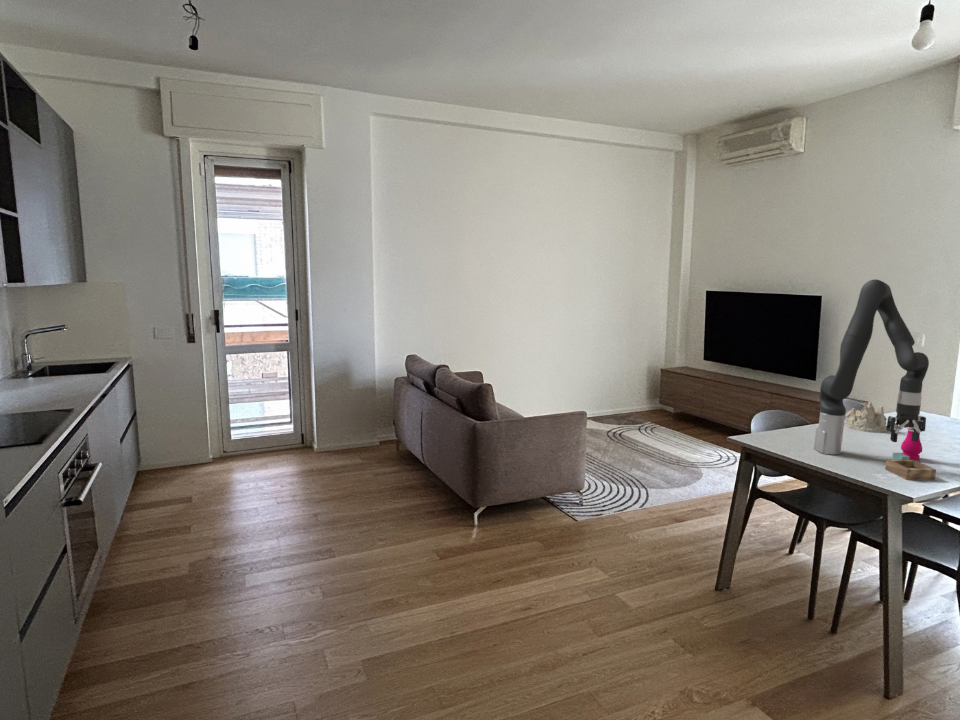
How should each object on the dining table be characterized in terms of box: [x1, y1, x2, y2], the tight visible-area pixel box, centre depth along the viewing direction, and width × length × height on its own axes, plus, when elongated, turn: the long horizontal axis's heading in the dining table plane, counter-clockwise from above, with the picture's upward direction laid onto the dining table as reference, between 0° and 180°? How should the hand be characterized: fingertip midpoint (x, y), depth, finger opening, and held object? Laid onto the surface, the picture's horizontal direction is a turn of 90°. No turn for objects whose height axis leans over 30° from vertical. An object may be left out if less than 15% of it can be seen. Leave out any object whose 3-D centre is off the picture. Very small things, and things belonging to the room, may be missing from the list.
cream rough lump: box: [844, 401, 889, 433], centre depth 284 cm, size 16×16×15 cm
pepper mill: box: [900, 414, 923, 462], centre depth 238 cm, size 7×7×20 cm
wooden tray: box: [885, 459, 937, 481], centre depth 220 cm, size 11×11×4 cm
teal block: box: [891, 452, 910, 460], centre depth 229 cm, size 5×3×5 cm, turn 1°
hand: (904, 441), depth 228 cm, fingers open, 8 cm apart
